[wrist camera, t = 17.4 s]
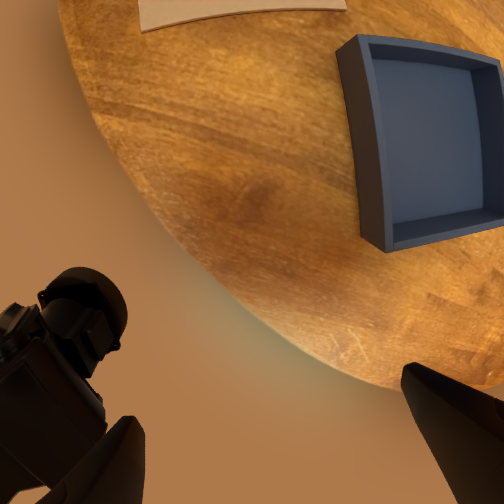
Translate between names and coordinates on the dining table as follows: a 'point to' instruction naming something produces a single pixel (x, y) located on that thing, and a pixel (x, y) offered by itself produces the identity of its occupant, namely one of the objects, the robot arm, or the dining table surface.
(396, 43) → the box
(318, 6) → the mat
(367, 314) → the dining table surface
